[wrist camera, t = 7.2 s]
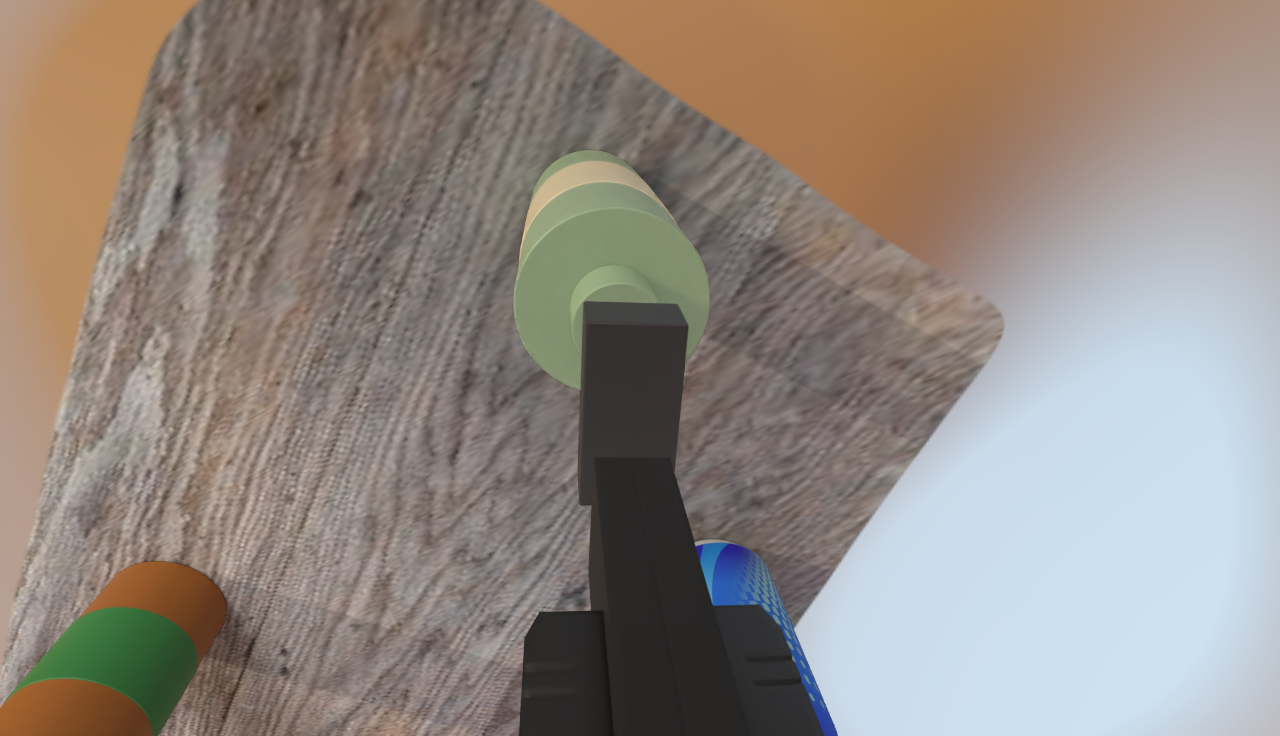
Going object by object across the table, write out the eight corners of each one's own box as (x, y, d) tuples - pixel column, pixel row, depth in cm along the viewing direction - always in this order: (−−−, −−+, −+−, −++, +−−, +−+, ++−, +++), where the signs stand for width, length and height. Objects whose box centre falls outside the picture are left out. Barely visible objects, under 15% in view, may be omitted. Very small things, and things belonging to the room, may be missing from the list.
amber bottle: (92, 560, 42) (-133, 800, 28) (217, 558, 43) (57, 789, 29) (120, 649, 45) (-73, 905, 31) (236, 645, 45) (99, 892, 32)
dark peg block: (581, 288, 18) (585, 322, 16) (672, 291, 18) (689, 324, 16) (574, 522, 21) (576, 580, 18) (652, 521, 21) (664, 578, 19)
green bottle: (529, 145, 35) (505, 213, 19) (655, 152, 36) (739, 222, 19) (529, 269, 38) (508, 424, 21) (646, 273, 38) (714, 425, 22)
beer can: (623, 574, 47) (652, 804, 32) (724, 508, 45) (803, 716, 31) (691, 643, 50) (746, 880, 35) (787, 583, 49) (886, 803, 34)
